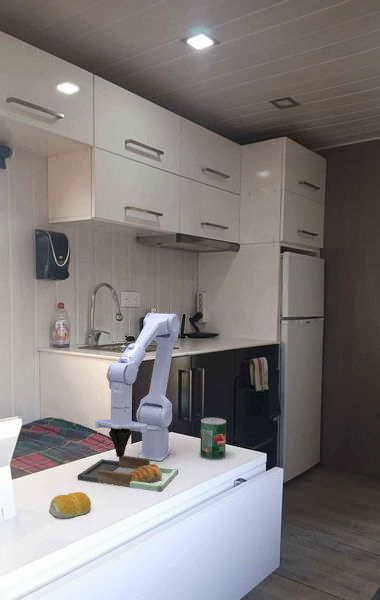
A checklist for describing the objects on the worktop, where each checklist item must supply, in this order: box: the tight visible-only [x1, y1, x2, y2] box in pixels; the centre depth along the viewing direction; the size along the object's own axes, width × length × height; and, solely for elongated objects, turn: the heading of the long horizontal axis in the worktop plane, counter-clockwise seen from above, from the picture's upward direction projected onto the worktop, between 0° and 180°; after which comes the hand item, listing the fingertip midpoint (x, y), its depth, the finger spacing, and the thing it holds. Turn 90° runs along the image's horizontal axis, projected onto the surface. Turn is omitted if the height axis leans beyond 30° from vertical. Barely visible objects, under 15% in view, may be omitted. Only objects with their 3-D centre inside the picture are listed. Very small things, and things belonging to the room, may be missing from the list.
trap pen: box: [77, 458, 120, 484], centre depth 137 cm, size 14×6×1 cm, turn 163°
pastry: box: [129, 463, 163, 484], centre depth 132 cm, size 9×7×4 cm
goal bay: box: [129, 465, 179, 492], centre depth 132 cm, size 14×8×1 cm, turn 163°
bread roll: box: [48, 491, 92, 519], centre depth 113 cm, size 8×9×4 cm
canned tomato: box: [199, 417, 227, 461], centre depth 154 cm, size 8×8×11 cm
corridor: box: [97, 455, 151, 488], centre depth 135 cm, size 14×9×3 cm, turn 163°
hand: (120, 455), depth 135 cm, fingers closed
